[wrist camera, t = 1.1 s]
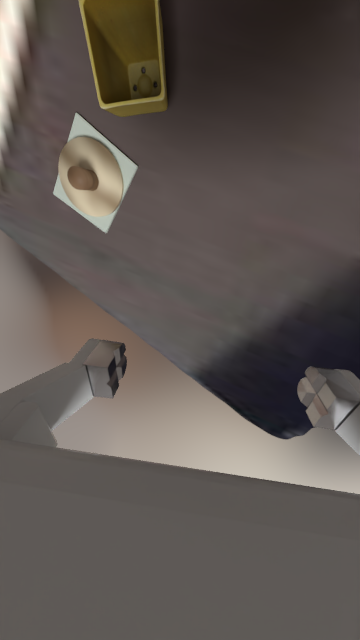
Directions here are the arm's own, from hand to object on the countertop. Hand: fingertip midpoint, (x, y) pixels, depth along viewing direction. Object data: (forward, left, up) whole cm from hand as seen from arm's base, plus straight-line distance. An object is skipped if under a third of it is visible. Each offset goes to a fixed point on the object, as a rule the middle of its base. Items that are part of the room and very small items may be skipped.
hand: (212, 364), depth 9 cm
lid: (+6, -24, -37) cm, 44 cm away
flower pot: (-10, -22, -37) cm, 44 cm away
